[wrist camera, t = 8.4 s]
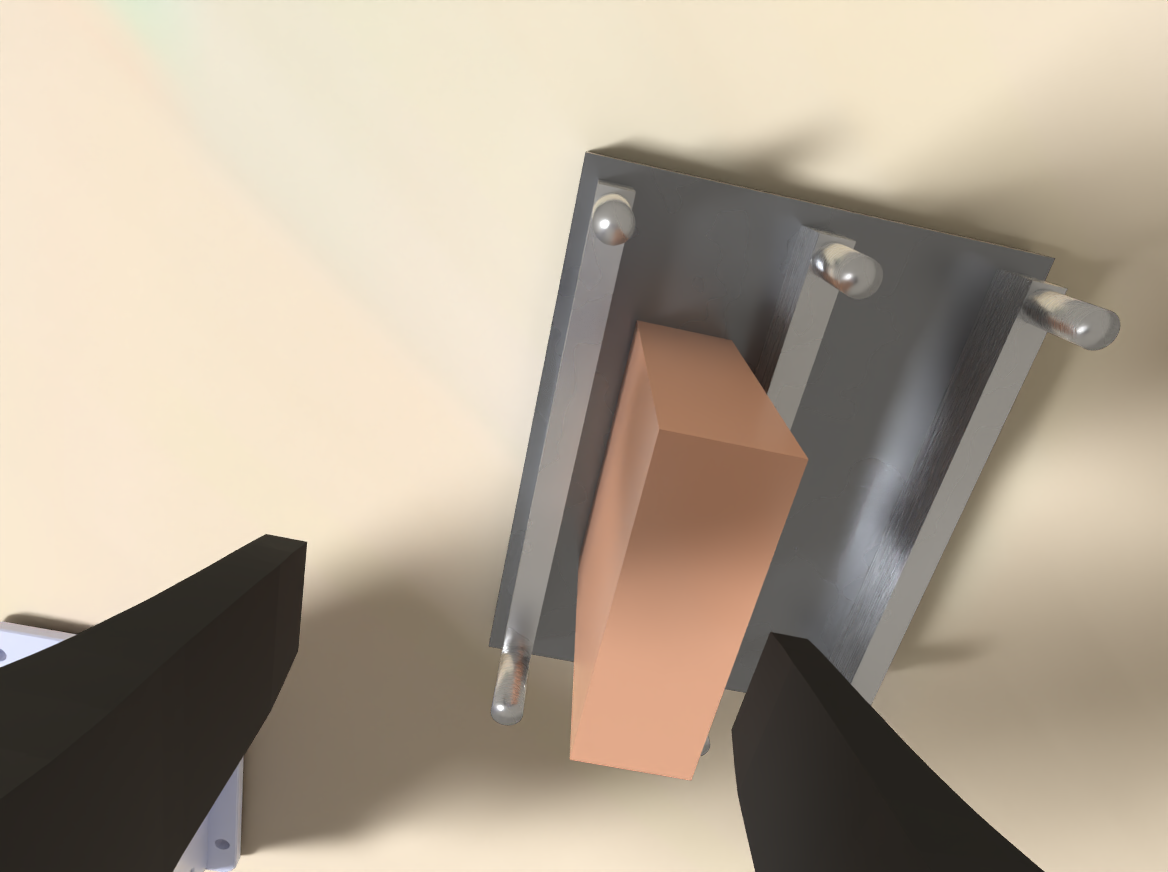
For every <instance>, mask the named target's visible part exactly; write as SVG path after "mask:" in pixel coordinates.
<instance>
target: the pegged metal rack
mask: <svg viewBox="0 0 1168 872" xmlns="http://www.w3.org/2000/svg"><path fill="white" fill-rule="evenodd" d="M1054 260H1055V258H1052V257H1048V256H1044V255H1041V254H1037V253H1033V252H1029V251H1025V250H1021V249H1016V248H1012V247H1007V246H1003V245H999V244H994V243H990V242H985V241H981V240H976V239H972V238H968V237H963V236H959V235H954V234H950V233H945V232H941V231H937V230H932V229H928V228H923V227H919V226H915V225H910V224H906V223H901V222H897V221H892V220H888V219H884V218H879V217H875V216H870V215H866V214H861V213H857V212H853V211H848V210H844V209H839V208H835V207H830V206H826V205H822V204H817V203H813V202H808V201H804V200H800V199H795V198H791V197H786V196H782V195H777V194H773V193H769V192H764V191H760V190H755V189H751V188H746V187H742V186H738V185H733V184H729V183H724V182H720V181H715V180H711V179H707V178H702V177H698V176H693V175H689V174H685V173H680V172H676V171H671V170H667V169H662V168H658V167H654V166H649V165H645V164H640V163H636V162H631V161H627V160H623V159H618V158H614V157H609V156H605V155H601V154H596V153H592V152H587V151H586V153H585V158H584V163H583V168H582V173H581V178H580V183H579V188H578V193H577V198H576V204H575V209H574V214H573V219H572V224H571V229H570V234H569V239H568V244H567V249H566V255H565V260H564V265H563V270H562V275H561V280H560V285H559V290H558V295H557V300H556V306H555V311H554V316H553V321H552V326H551V331H550V336H549V341H548V346H547V351H546V356H545V362H544V367H543V372H542V377H541V382H540V387H539V392H538V397H537V402H536V407H535V413H534V418H533V423H532V428H531V433H530V438H529V443H528V448H527V453H526V458H525V464H524V469H523V474H522V479H521V484H520V489H519V494H518V499H517V504H516V509H515V515H514V520H513V525H512V530H511V535H510V540H509V545H508V550H507V555H506V560H505V566H504V571H503V576H502V581H501V586H500V591H499V596H498V601H497V606H496V611H495V616H494V622H493V627H492V632H491V637H490V642H489V647H494V648H500V649H502V652H501V658H500V663H499V668H498V675H497V681H496V686H495V691H494V697H493V702H492V708H491V716H492V718H493V719H494V720H495V721H496V722H498V723H500V724H502V725H513V724H516V723H518V722H519V721H520V720H521V719H522V716H523V710H524V702H525V695H526V687H527V679H528V671H529V664H530V658H531V654H533V655H539V656H544V657H550V658H555V659H561V660H566V661H572V662H574V653H575V631H576V608H577V586H578V564H579V557H580V553H581V548H582V544H583V540H584V536H585V532H586V528H587V524H588V520H589V515H590V511H591V507H592V503H593V499H594V495H595V491H596V487H597V483H598V478H599V474H600V470H601V466H602V462H603V458H604V454H605V450H606V445H607V441H608V437H609V433H610V429H611V425H612V421H613V417H614V412H615V408H616V404H617V400H618V396H619V392H620V388H621V384H622V379H623V375H624V371H625V367H626V363H627V359H628V355H629V351H630V346H631V342H632V338H633V334H634V330H635V326H636V322H637V320H638V321H643V322H648V323H652V324H657V325H662V326H667V327H671V328H676V329H681V330H685V331H690V332H695V333H700V334H704V335H709V336H714V337H718V338H723V339H728V340H732V341H733V343H734V344H735V346H736V347H737V349H738V351H739V352H740V354H741V355H742V357H743V358H744V360H745V361H746V363H747V364H748V366H749V368H750V369H751V371H752V372H753V374H754V375H755V377H756V378H757V380H758V382H759V383H760V385H761V386H762V388H763V389H764V391H765V392H766V394H767V396H768V397H769V399H770V400H771V402H772V403H773V405H774V406H775V408H776V410H777V411H778V413H779V414H780V416H781V417H782V419H783V420H784V422H785V423H786V425H787V427H788V428H789V430H790V431H791V433H792V434H793V436H794V437H795V439H796V441H797V442H798V444H799V445H800V447H801V448H802V450H803V451H804V453H805V455H806V456H807V458H808V462H807V465H806V467H805V470H804V473H803V476H802V478H801V481H800V484H799V487H798V489H797V492H796V495H795V498H794V500H793V503H792V506H791V508H790V511H789V514H788V517H787V519H786V522H785V525H784V528H783V530H782V533H781V536H780V539H779V541H778V544H777V547H776V550H775V552H774V555H773V558H772V560H771V563H770V566H769V569H768V571H767V574H766V577H765V580H764V582H763V585H762V588H761V591H760V593H759V596H758V599H757V602H756V604H755V607H754V610H753V613H752V615H751V618H750V621H749V623H748V626H747V629H746V632H745V634H744V637H743V640H742V643H741V645H740V648H739V651H738V654H737V656H736V659H735V662H734V665H733V667H732V670H731V673H730V675H729V678H728V681H727V684H726V686H725V689H728V690H733V691H739V692H744V693H746V692H747V689H748V687H749V684H750V682H751V679H752V677H753V674H754V672H755V669H756V667H757V664H758V662H759V659H760V656H761V654H762V651H763V649H764V646H765V644H766V641H767V639H768V636H769V634H770V632H774V633H779V634H785V635H790V636H795V637H800V638H805V639H808V640H809V641H810V642H811V643H812V644H813V645H815V646H816V647H817V648H818V649H819V650H820V651H821V652H822V653H823V655H824V656H825V657H826V658H827V659H828V660H829V661H830V662H831V663H832V664H833V665H834V666H835V667H836V668H837V669H838V671H839V672H840V673H841V674H842V675H843V676H844V677H845V678H846V679H847V680H848V681H849V683H850V684H851V685H852V686H853V687H854V688H855V689H856V690H857V691H858V692H859V693H860V695H861V696H862V697H863V698H864V699H865V700H866V701H867V702H868V703H869V704H870V705H871V704H872V702H873V700H874V698H875V696H876V694H877V692H878V689H879V687H880V685H881V683H882V681H883V679H884V677H885V675H886V673H887V670H888V668H889V666H890V664H891V662H892V660H893V658H894V656H895V653H896V651H897V649H898V647H899V645H900V643H901V641H902V639H903V636H904V634H905V632H906V630H907V628H908V626H909V624H910V622H911V620H912V617H913V615H914V613H915V611H916V609H917V607H918V605H919V603H920V600H921V598H922V596H923V594H924V592H925V590H926V588H927V586H928V584H929V581H930V579H931V577H932V575H933V573H934V571H935V569H936V567H937V564H938V562H939V560H940V558H941V556H942V554H943V552H944V550H945V548H946V545H947V543H948V541H949V539H950V537H951V535H952V533H953V531H954V528H955V526H956V524H957V522H958V520H959V518H960V516H961V514H962V512H963V509H964V507H965V505H966V503H967V501H968V499H969V497H970V495H971V492H972V490H973V488H974V486H975V484H976V482H977V480H978V478H979V476H980V473H981V471H982V469H983V467H984V465H985V463H986V461H987V459H988V456H989V454H990V452H991V450H992V448H993V446H994V444H995V442H996V440H997V437H998V435H999V433H1000V431H1001V429H1002V427H1003V425H1004V423H1005V420H1006V418H1007V416H1008V414H1009V412H1010V410H1011V408H1012V406H1013V403H1014V401H1015V399H1016V397H1017V395H1018V393H1019V391H1020V389H1021V387H1022V384H1023V382H1024V380H1025V378H1026V376H1027V374H1028V372H1029V370H1030V367H1031V365H1032V363H1033V361H1034V359H1035V357H1036V355H1037V353H1038V351H1039V348H1040V346H1041V344H1042V342H1043V340H1044V338H1045V336H1046V334H1047V332H1049V333H1051V334H1053V335H1055V336H1058V337H1060V338H1062V339H1064V340H1067V341H1069V342H1071V343H1073V344H1076V345H1078V346H1080V347H1083V348H1085V349H1087V350H1099V349H1102V348H1104V347H1106V346H1108V345H1109V344H1110V343H1112V342H1113V341H1114V339H1115V338H1116V337H1117V335H1118V333H1119V330H1120V320H1119V318H1118V316H1117V315H1116V314H1115V313H1114V312H1112V311H1109V310H1107V309H1104V308H1101V307H1098V306H1095V305H1092V304H1089V303H1086V302H1084V301H1081V300H1078V299H1075V298H1072V297H1069V296H1066V295H1065V293H1066V291H1067V288H1064V287H1061V286H1058V285H1055V284H1052V283H1049V282H1046V281H1045V279H1046V277H1047V275H1048V273H1049V271H1050V268H1051V266H1052V264H1053V262H1054ZM709 748H710V742H709V736H707V738H706V741H705V744H704V747H703V749H702V752H701V755H700V756H702V755H704V754H705V753H707V751H708V750H709Z"/></svg>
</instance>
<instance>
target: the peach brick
mask: <svg viewBox="0 0 1168 872" xmlns="http://www.w3.org/2000/svg"><path fill="white" fill-rule="evenodd" d="M807 462H808V458H807V456H806V455H805V453H804V451H803V450H802V448H801V447H800V445H799V444H798V442H797V441H796V439H795V437H794V436H793V434H792V433H791V431H790V430H789V428H788V427H787V425H786V423H785V422H784V420H783V419H782V417H781V416H780V414H779V413H778V411H777V410H776V408H775V406H774V405H773V403H772V402H771V400H770V399H769V397H768V396H767V394H766V392H765V391H764V389H763V388H762V386H761V385H760V383H759V382H758V380H757V378H756V377H755V375H754V374H753V372H752V371H751V369H750V368H749V366H748V364H747V363H746V361H745V360H744V358H743V357H742V355H741V354H740V352H739V351H738V349H737V347H736V346H735V344H734V343H733V341H732V340H728V339H723V338H718V337H714V336H709V335H704V334H700V333H695V332H690V331H685V330H681V329H676V328H671V327H667V326H662V325H657V324H652V323H648V322H643V321H638V320H637V322H636V326H635V330H634V334H633V338H632V342H631V346H630V351H629V355H628V359H627V363H626V367H625V371H624V375H623V379H622V384H621V388H620V392H619V396H618V400H617V404H616V408H615V412H614V417H613V421H612V425H611V429H610V433H609V437H608V441H607V445H606V450H605V454H604V458H603V462H602V466H601V470H600V474H599V478H598V483H597V487H596V491H595V495H594V499H593V503H592V507H591V511H590V515H589V520H588V524H587V528H586V532H585V536H584V540H583V544H582V548H581V553H580V557H579V564H578V586H577V608H576V631H575V653H574V675H573V697H572V719H571V741H570V760H574V761H580V762H586V763H592V764H598V765H603V766H609V767H615V768H621V769H627V770H633V771H638V772H644V773H650V774H656V775H662V776H668V777H674V778H679V779H685V780H692V777H693V774H694V771H695V769H696V766H697V763H698V760H699V758H700V755H701V752H702V749H703V747H704V744H705V741H706V738H707V736H708V733H709V730H710V728H711V725H712V722H713V719H714V717H715V714H716V711H717V708H718V706H719V703H720V700H721V697H722V695H723V692H724V689H725V686H726V684H727V681H728V678H729V675H730V673H731V670H732V667H733V665H734V662H735V659H736V656H737V654H738V651H739V648H740V645H741V643H742V640H743V637H744V634H745V632H746V629H747V626H748V623H749V621H750V618H751V615H752V613H753V610H754V607H755V604H756V602H757V599H758V596H759V593H760V591H761V588H762V585H763V582H764V580H765V577H766V574H767V571H768V569H769V566H770V563H771V560H772V558H773V555H774V552H775V550H776V547H777V544H778V541H779V539H780V536H781V533H782V530H783V528H784V525H785V522H786V519H787V517H788V514H789V511H790V508H791V506H792V503H793V500H794V498H795V495H796V492H797V489H798V487H799V484H800V481H801V478H802V476H803V473H804V470H805V467H806V465H807Z"/></svg>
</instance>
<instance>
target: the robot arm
mask: <svg viewBox="0 0 1168 872" xmlns="http://www.w3.org/2000/svg"><path fill="white" fill-rule="evenodd" d="M306 549H307V542H304V541H299V540H294V539H289V538H284V537H279V536H273V535H268V534H265V535H264V536H262V537H260V538H258V539H256V540H254V541H252V542H250V543H249V544H247V545H245V546H243V547H241V548H240V549H238V550H236V551H234V552H233V553H231V554H229V555H227V556H226V557H224V558H222V559H220V560H219V561H217V562H215V563H213V564H212V565H210V566H208V567H206V568H205V569H203V570H201V571H199V572H197V573H196V574H194V575H192V576H190V577H188V578H186V579H185V580H183V581H181V582H179V583H177V584H175V585H174V586H172V587H170V588H168V589H166V590H164V591H163V592H161V593H159V594H157V595H155V596H154V597H152V598H150V599H148V600H146V601H144V602H142V603H140V604H138V605H136V606H134V607H132V608H130V609H128V610H126V611H124V612H122V613H120V614H117V615H115V616H113V617H111V618H109V619H107V620H105V621H103V622H101V623H99V624H97V625H95V626H93V627H91V628H89V629H87V630H85V631H83V632H81V633H79V634H71V633H66V632H60V631H54V630H48V629H43V628H37V627H31V626H26V625H20V624H14V623H8V622H0V872H204V871H205V869H207V870H214V871H220V872H228V871H231V870H233V869H234V868H235V867H236V865H237V863H238V861H239V859H240V849H241V820H242V790H243V761H244V754H245V753H246V751H247V749H248V748H249V746H250V744H251V743H252V741H253V740H254V738H255V736H256V735H257V733H258V731H259V730H260V728H261V726H262V725H263V723H264V721H265V720H266V718H267V716H268V715H269V713H270V711H271V709H272V707H273V705H274V703H275V701H276V698H277V696H278V694H279V692H280V690H281V688H282V686H283V683H284V681H285V679H286V677H287V674H288V672H289V670H290V668H291V665H292V663H293V661H294V659H295V656H296V654H297V652H298V646H299V634H300V621H301V609H302V597H303V585H304V573H305V561H306ZM732 741H733V753H734V765H735V774H736V782H737V791H738V797H739V802H740V806H741V811H742V816H743V820H744V824H745V829H746V833H747V838H748V842H749V847H750V851H751V855H752V860H753V864H754V868H755V872H1044V871H1043V870H1042V869H1041V868H1039V867H1038V866H1037V865H1036V864H1035V863H1033V862H1032V861H1031V860H1030V859H1029V858H1028V857H1026V856H1025V855H1024V854H1023V853H1022V852H1021V851H1019V850H1018V849H1017V848H1016V847H1015V846H1014V845H1013V844H1011V843H1010V842H1009V841H1008V840H1007V839H1006V838H1004V837H1003V836H1002V835H1001V834H1000V833H999V832H997V831H996V830H995V829H994V828H993V827H992V826H991V825H989V824H988V823H987V822H986V821H985V820H984V819H983V818H982V817H981V816H980V815H979V814H977V813H976V812H975V811H974V810H973V809H972V808H971V807H970V806H969V805H968V804H967V803H966V802H965V801H963V800H962V799H961V798H960V797H959V796H958V795H957V794H956V793H955V792H954V791H953V790H952V789H951V788H950V787H949V786H948V785H947V784H946V783H945V782H944V781H943V780H942V779H941V778H940V777H939V776H938V775H937V774H936V773H935V772H934V771H933V770H932V769H931V768H930V767H929V766H928V765H927V764H926V763H925V762H924V761H923V760H922V759H921V758H920V757H919V756H918V755H917V754H916V753H915V752H914V751H913V750H912V749H911V748H910V747H909V746H908V745H907V744H906V743H905V742H904V741H903V740H902V739H901V738H900V737H899V736H898V734H897V733H896V732H895V731H894V730H893V729H892V728H891V727H890V726H889V725H888V724H887V723H886V722H885V721H884V720H883V718H882V717H881V716H880V715H879V714H878V713H877V712H876V711H875V710H874V709H873V708H872V707H871V705H870V704H869V703H868V702H867V701H866V700H865V699H864V698H863V697H862V696H861V695H860V693H859V692H858V691H857V690H856V689H855V688H854V687H853V686H852V685H851V684H850V683H849V681H848V680H847V679H846V678H845V677H844V676H843V675H842V674H841V673H840V672H839V671H838V669H837V668H836V667H835V666H834V665H833V664H832V663H831V662H830V661H829V660H828V659H827V658H826V657H825V656H824V655H823V653H822V652H821V651H820V650H819V649H818V648H817V647H816V646H815V645H813V644H812V643H811V642H810V641H809V640H808V639H805V638H800V637H795V636H790V635H785V634H779V633H774V632H770V634H769V636H768V639H767V641H766V644H765V646H764V649H763V651H762V654H761V656H760V659H759V662H758V664H757V667H756V669H755V672H754V674H753V677H752V679H751V682H750V684H749V687H748V689H747V692H746V695H745V697H744V700H743V702H742V705H741V707H740V710H739V712H738V715H737V717H736V720H735V722H734V725H733V728H732Z"/></svg>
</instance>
